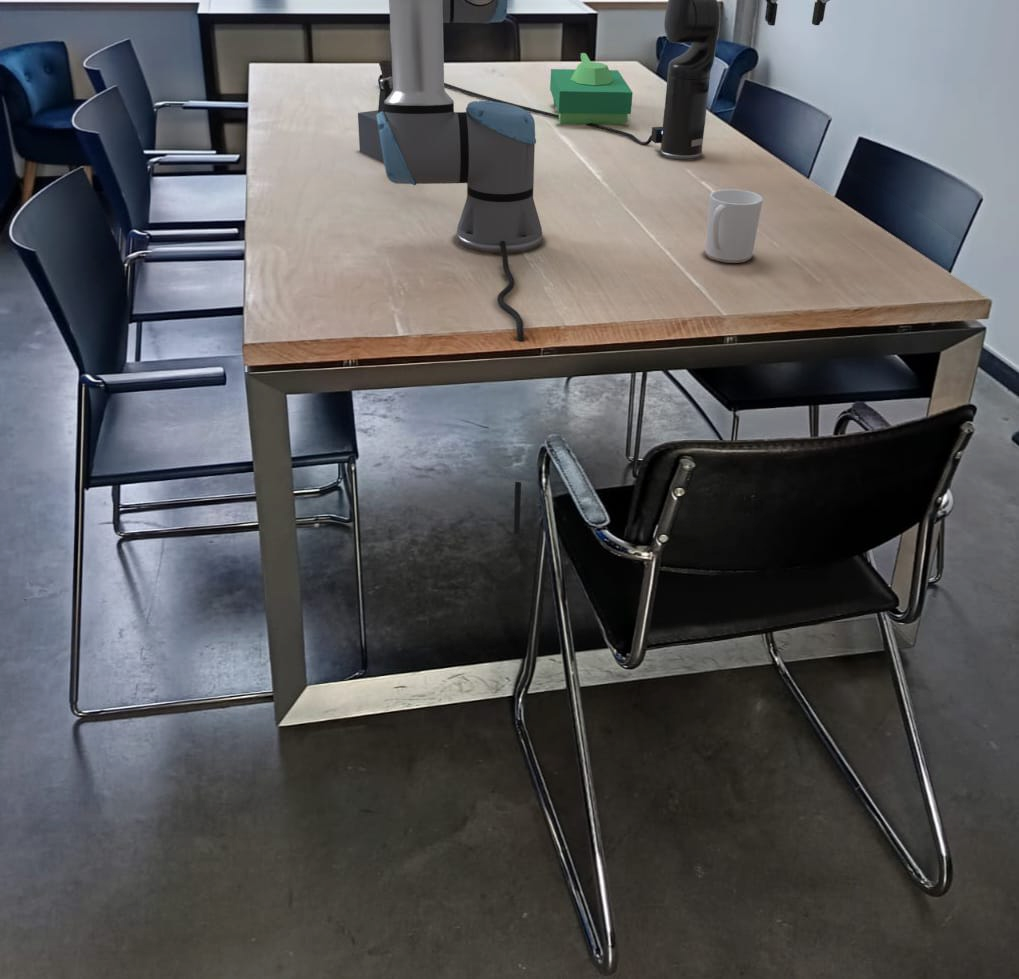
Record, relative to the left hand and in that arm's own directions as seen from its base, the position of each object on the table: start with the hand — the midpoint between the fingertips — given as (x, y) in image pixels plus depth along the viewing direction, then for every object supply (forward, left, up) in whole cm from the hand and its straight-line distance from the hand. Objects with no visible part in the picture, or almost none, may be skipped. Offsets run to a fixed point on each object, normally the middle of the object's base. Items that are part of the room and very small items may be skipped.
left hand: (412, 159), depth 233 cm
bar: (+6, +5, -2) cm, 8 cm away
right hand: (-12, -74, +31) cm, 81 cm away
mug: (-44, -64, -2) cm, 78 cm away
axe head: (+76, +18, -2) cm, 78 cm away
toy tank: (+62, -33, -2) cm, 70 cm away
